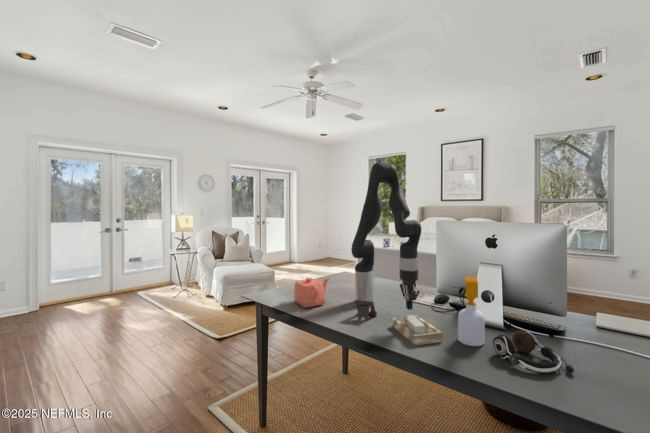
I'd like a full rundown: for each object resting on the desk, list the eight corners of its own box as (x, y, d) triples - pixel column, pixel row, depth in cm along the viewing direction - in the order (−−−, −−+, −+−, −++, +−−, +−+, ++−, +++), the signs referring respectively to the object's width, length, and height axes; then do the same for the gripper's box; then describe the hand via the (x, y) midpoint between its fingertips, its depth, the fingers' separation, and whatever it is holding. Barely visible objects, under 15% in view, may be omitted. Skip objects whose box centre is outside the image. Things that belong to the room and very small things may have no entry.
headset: (525, 324, 115) (585, 357, 96) (522, 343, 116) (580, 380, 98) (488, 331, 109) (544, 368, 91) (485, 352, 111) (540, 392, 92)
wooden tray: (392, 326, 137) (392, 318, 136) (416, 323, 139) (416, 315, 139) (415, 345, 118) (415, 336, 118) (442, 341, 121) (442, 332, 120)
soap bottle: (482, 337, 123) (482, 275, 122) (486, 348, 114) (486, 280, 113) (457, 335, 126) (457, 273, 125) (459, 345, 117) (459, 279, 116)
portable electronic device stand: (377, 315, 149) (376, 298, 149) (372, 321, 142) (372, 303, 142) (359, 313, 153) (359, 296, 152) (353, 319, 146) (353, 301, 145)
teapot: (339, 305, 165) (339, 279, 165) (305, 311, 157) (304, 284, 156) (322, 295, 183) (322, 271, 183) (291, 300, 175) (290, 275, 174)
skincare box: (403, 315, 132) (414, 326, 121) (413, 314, 133) (425, 325, 121) (403, 329, 133) (415, 342, 121) (413, 329, 133) (425, 341, 121)
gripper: (393, 265, 138) (394, 305, 139) (408, 272, 125) (409, 315, 126) (409, 264, 140) (409, 303, 141) (425, 270, 127) (426, 313, 128)
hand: (409, 308), depth 133 cm, fingers closed
